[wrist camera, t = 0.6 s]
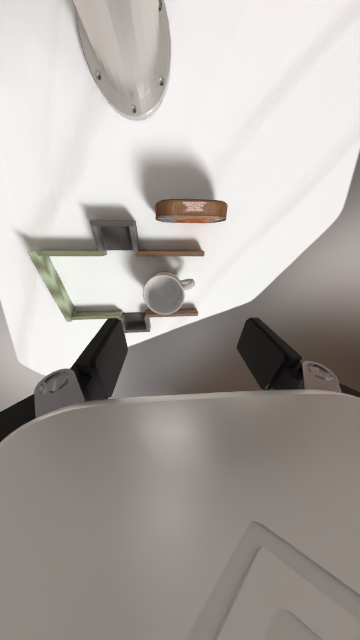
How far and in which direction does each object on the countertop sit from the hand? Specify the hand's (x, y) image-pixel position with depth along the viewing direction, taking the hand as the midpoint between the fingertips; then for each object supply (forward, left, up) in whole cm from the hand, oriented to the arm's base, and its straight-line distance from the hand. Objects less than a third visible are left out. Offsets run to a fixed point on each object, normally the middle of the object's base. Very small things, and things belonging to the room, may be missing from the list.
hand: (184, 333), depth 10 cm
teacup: (+7, -1, -32) cm, 33 cm away
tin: (-10, +4, -32) cm, 34 cm away
